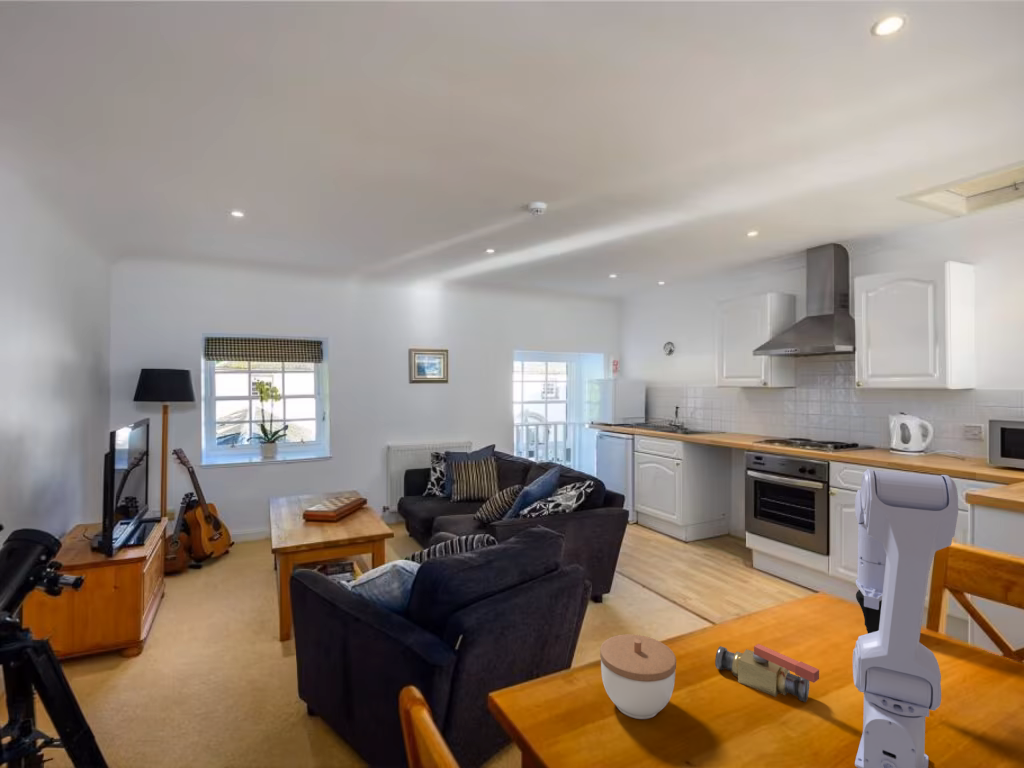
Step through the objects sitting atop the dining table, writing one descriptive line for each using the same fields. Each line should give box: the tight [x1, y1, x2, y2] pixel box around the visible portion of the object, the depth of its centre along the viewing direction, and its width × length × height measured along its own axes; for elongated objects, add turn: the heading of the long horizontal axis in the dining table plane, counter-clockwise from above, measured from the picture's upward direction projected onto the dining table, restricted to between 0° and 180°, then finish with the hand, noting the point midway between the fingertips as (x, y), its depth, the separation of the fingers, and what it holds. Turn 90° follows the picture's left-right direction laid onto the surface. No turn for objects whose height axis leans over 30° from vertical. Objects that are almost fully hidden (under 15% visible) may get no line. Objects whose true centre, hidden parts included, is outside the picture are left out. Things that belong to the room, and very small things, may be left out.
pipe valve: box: [714, 645, 810, 703], centre depth 93 cm, size 15×5×4 cm, turn 49°
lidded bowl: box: [599, 633, 677, 720], centre depth 86 cm, size 13×13×11 cm
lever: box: [753, 643, 820, 684], centre depth 89 cm, size 11×3×2 cm, turn 36°
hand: (875, 634), depth 90 cm, fingers closed
